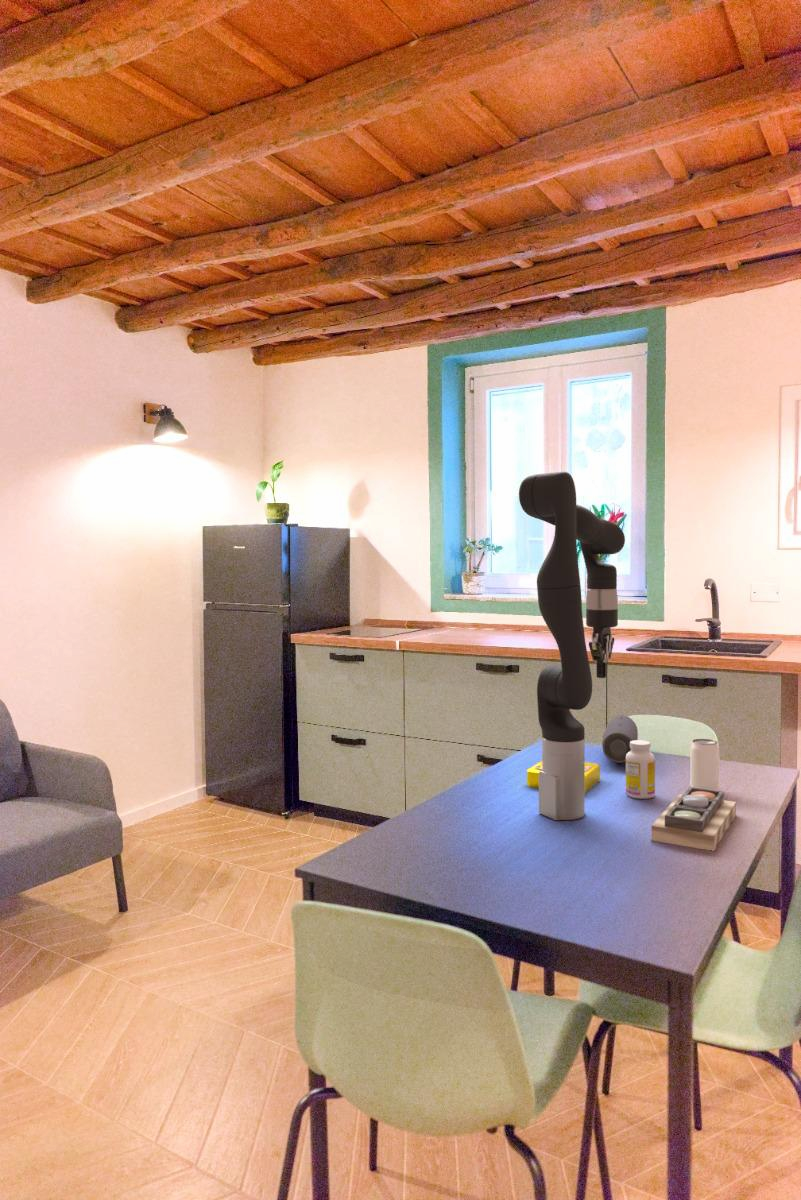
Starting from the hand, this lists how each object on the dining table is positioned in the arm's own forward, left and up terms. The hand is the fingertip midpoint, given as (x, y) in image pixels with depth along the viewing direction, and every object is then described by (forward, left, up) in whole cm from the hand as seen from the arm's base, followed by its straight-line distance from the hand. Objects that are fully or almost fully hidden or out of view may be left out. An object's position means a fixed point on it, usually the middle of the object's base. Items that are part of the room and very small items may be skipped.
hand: (601, 677), depth 202 cm
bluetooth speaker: (+23, +18, -27) cm, 40 cm away
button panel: (-4, -33, -27) cm, 43 cm away
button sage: (-10, -37, -24) cm, 45 cm away
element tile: (-6, +7, -28) cm, 29 cm away
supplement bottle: (+2, -11, -27) cm, 29 cm away
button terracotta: (+2, -29, -24) cm, 38 cm away
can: (+18, -16, -27) cm, 36 cm away
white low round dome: (-4, -33, -23) cm, 40 cm away
